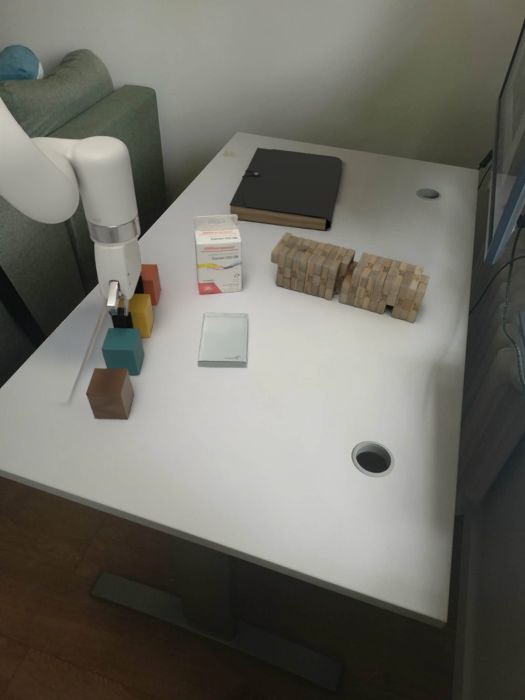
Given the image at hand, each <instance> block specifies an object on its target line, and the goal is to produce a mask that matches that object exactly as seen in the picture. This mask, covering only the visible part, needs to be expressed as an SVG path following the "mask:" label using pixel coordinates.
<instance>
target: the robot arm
mask: <svg viewBox="0 0 525 700" xmlns="http://www.w3.org/2000/svg"><path fill="white" fill-rule="evenodd" d="M24 130H25V129H23V127H22V126H21V125H20V124H19V123H18V121H17V120H16V119H15V118H14V116H13V115H12V113H11V111H10V110H9V109H8V107H7V105H6V103H5V102H4V101H3V99H2V97H1V96H0V196H1V197H3V199H5V201H6V202H8V203H9V204H10V205H11V206H13V208H15V209H16V210H18V212H20V213H22V214H23V215H24V216H26V217H28V218H29V219H32V220H33V221H36V222H38V223H41V224H47V225H54V224H55V225H56V224H60V223H63V222H65V221H67V220H69V219H70V218H71V217H73V216H74V214H75V213H76V211H77V210H78V207H79V203H80V200H81V203H82V206H83V212H84V215H85V220H86V224H87V225H86V226H87V229H88V233H89V237H90V240H91V241H93V243H94V245H93V246H94V249H93V251H94V262H95V268H96V274H97V282H98V287H99V292H100V296H101V298H102V299H103V300H107V301H106V309H107V310H108V311H107V312H108V313H109V315H110V317H111V322H112V328H131V329H134V326H133V321H132V316H131V312H129V299H131V298H132V296H133V294H144V286H143V279H142V276H139V275H141V264H142V256H141V250H140V249H141V248H140V245H139V240H138V239H139V237H140V235H141V225H140V217H139V212H138V205H137V198H136V192H135V184H134V177H133V170H132V163H131V157H130V151H129V149H128V147H127V145H126V144H125V143H124V142H123V141H121V140H120V139H118V138H116V137H114V136H109V135H94V136H90V137H86V138H83V139H75V138H74V139H73V138H58V137H51V136H49V137H47V136H35V137H31V138H30V137H29V135H28V134H27V133H26V132H25V131H24ZM120 292H121V294H122V293H123V295H124V296H121V295H120ZM119 300H124V308H121V307H118V302H119Z"/></svg>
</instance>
